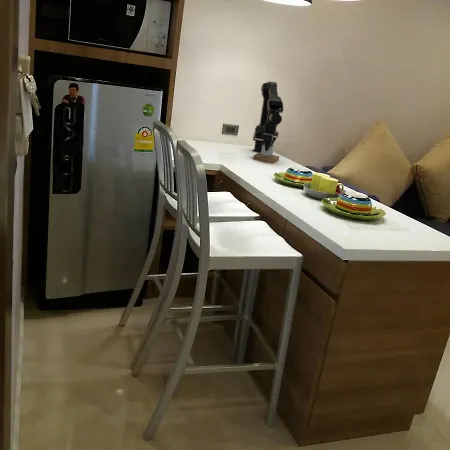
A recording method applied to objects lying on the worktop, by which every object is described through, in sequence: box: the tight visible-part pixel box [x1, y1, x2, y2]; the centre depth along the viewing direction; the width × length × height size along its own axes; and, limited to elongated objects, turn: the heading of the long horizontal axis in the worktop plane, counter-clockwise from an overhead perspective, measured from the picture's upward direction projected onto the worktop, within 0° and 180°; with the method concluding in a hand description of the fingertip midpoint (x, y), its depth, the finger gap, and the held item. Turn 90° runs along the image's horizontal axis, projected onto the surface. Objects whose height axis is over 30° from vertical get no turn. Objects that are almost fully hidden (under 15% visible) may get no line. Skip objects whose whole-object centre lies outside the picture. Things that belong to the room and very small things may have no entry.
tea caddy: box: [260, 144, 275, 157], centre depth 286 cm, size 6×6×6 cm
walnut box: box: [252, 152, 280, 164], centre depth 287 cm, size 12×12×3 cm
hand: (267, 150), depth 286 cm, fingers open, 7 cm apart
